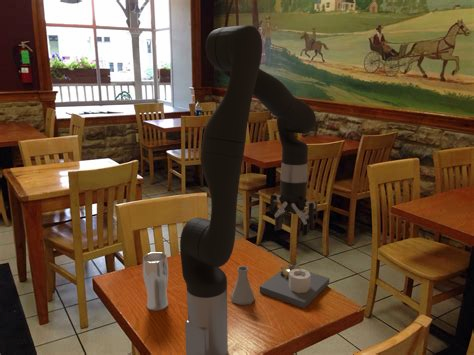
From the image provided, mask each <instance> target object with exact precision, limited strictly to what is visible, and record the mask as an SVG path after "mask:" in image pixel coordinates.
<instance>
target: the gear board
mask: <svg viewBox="0 0 474 355" xmlns="http://www.w3.org/2000/svg"><path fill="white" fill-rule="evenodd" d="M308 272H309V273H310V275H311V282H310V289H309V290H308V291H307V292H303V293H297V292H294V291H291V290H290V288H289V286H288V284H289V278H288V279H285V278H284V276H282V275H280V270H279V271H278V272H277V273H275V274H274V275H273V276H271V277H270V278H269V279H267V281H265V282H264V283H262V284H261V285H260V286H259V293H261V294H264V295H267V296H269V297H271V298H274V299H277V300H280V301H283V302H285V303H288V304H289V305H290V304H291V305H293V306H295V307H299V308H301V309H306V308H307V306H308V305H310V304H311V302H312V301H313V300H315V299H316V298H317V296H319V295H320V293H322V291H324V290H325V289H326V288H327V287H328V286H329V285H330V277H327V276H324V275H320V274H318V273H314V272H310V271H308ZM298 277H303V276H301V275H298ZM318 294H319V295H318Z"/></svg>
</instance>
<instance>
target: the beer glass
mask: <svg viewBox="0 0 474 355" xmlns="http://www.w3.org/2000/svg"><path fill="white" fill-rule="evenodd" d="M168 264H169V263H168V256H167V254H165V253H164V252H159V251H158V252H157V251H156V252H155V251H154V252H153V251H152V252H149V253H146V254H145V255H143V257H142V277H143V280H144V285H145V290H146V293H147V294H146V295H147V300H146V301H147V302H146V307H147V309H148V310H149V311H155V312H156V311H161V310H165V309H166V308H167V307H168V306H169V300H168V296H167V288H168V282H169V280H168V279H169V265H168Z"/></svg>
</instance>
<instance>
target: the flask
mask: <svg viewBox="0 0 474 355" xmlns="http://www.w3.org/2000/svg"><path fill="white" fill-rule="evenodd" d="M236 269H237V273H238V274H237V279H236V283H235V286H234V288H233V291H232V293H231V295H230V299H231V303H234V304H236V305H239V306H244V305H252V303H254V301H255V300H256V298H255V294H254V292H253V289H252V287H251V284H250V281H249V278H248V272H249V266H246V265H239V266H238V267H237V268H236Z"/></svg>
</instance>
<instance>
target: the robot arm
mask: <svg viewBox="0 0 474 355" xmlns="http://www.w3.org/2000/svg"><path fill="white" fill-rule="evenodd" d="M262 39H263V38H262V35H261V33H260V31H259V30H258V28H256V26H253V25H248V24H244V25H243V24H242V25H235V26H234V25H233V26H224V27H219V28H217V29H214V30H212V31H211V32H210V33H209V34H208V36H207V37H206V40H205V41H206V42H205V54H206V57H207V60H208V61H209V63H210V64H211V66H213V67H214V68H215V69H216V70H217V71H219V72H220V73H222V74H223V75H225V76H226V77H228V78H229V79H228V84H227V88H226V91H225V94H224V96H223V97H222V99H221V101H220V103H219V104H218V105H217V107H216V109H215V110H214V112H213V113H212V114H211V116H210V118H209V120H208V121H207V123H206V125H205V128H204V130H203V134H202V135H203V136H202V142H201V147H200V148H201V150H200V159H199V160H200V164H201V170H202V173H203V176H204V179H205V182H206V185H207V188H208V192H209V195H210V201H211V207H210V208H211V209H210V210H211V211H210V220H209V219H207V218H203V217H194V218H191V219H189V220H188V221H187V222H186V223H185V225H184V227H183V229H182V231H181V234H180V239H179V251H180V252H179V254H180V263H181V274H182V278H183V280H184V282H185V284H186V285H185V286H186V299H187V300H186V302H187V303H186V304H187V306H186V307H187V308H186V309H187V320H186V321H185V322H184V332H185V335H184V336H185V354H186V355H228V349H229V348H228V347H229V346H228V344H229V343H228V340H229V338H228V334H229V333H228V280H227V278H228V277H227V275H226V273H225V272H224V271H223V269H221V268H220V267H223V266H224V265H225V264H227V263H228V261H229V260H230V258H231V256H232V254H233V251H234V247H235V242H236V241H235V240H236V229H237V228H236V227H237V226H236V225H237V209H238V208H237V207H238V205H237V204H238V195H239V187H240V178H241V170H242V166H243V159H244V156H245V154H244V153H245V146H246V142H247V141H246V139H247V130H248V123H249V118H250V112H251V111H250V110H251V106H252V101H253V97H254V98H256V99H257V100H258V101H259V102H260V103H261V105H263V106H264V107H265V108H266V109H267V110H268V111H269V112H270V113H271V114H272V115H273V116H275V117H276V128H277V131H278V136H279V139H280V143H281V148H282V149H281V165H280V166H281V167H280V178H279V179H280V180H279V182H280V186H279V193H280V195H279V193H277V192H275V193H274V194H271V195H270V200H269V201H270V202H269V214H270V215H273V216H274V217H275V218H274V219H275V220H274V221H275V222H274V227H275V228H276V230H281V229H282V228H283V214H284V213H290V214H294V215H297V216H298V218H299V219H300V220H301V221H302V227H301V236H302V237H303V238H304V237H307V236H308V235H309V234H310V225H312V224H314V223H316V222H317V221H318V218H317V217H318V212H317V210H318V207H317V206H318V204H317V201H316V200H314V201H308V200H307V191H308V173H309V172H308V171H309V170H308V153H309V152H308V151H309V150H308V149H309V148H308V147H309V146H308V143H306V142H304V141H302V140H300V139H298V138H297V136H296V134H302V135H304V134H309V133H311V132H312V131H313V130H314V128H316V125H317V124H316V123H317V118H316V114H315V113H316V112H315V111H314V110H313V109H312V108H311V107H310V105H308V104H307V103H305V102H304V101H302V100H301V99H299V97H295V96H294V95H293V94H292V92H290V90H289V89H288V87H286V85H285V84H284V83H283V82H282V81H280V80H279V79H278V78H277V77H275V76H273V75H272V74H270V73H268V72H266V71H265V70H263V69H261V68H260V67H261V61H262V56H263V40H262ZM278 203H280V204H281V205H280V206H279V207H278ZM306 207H307V208H306Z"/></svg>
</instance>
